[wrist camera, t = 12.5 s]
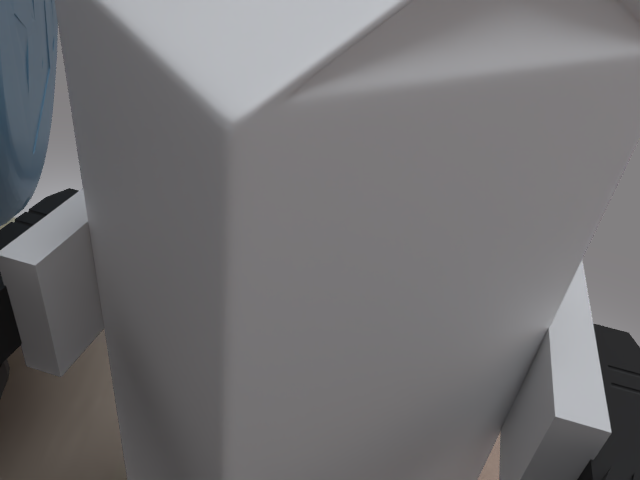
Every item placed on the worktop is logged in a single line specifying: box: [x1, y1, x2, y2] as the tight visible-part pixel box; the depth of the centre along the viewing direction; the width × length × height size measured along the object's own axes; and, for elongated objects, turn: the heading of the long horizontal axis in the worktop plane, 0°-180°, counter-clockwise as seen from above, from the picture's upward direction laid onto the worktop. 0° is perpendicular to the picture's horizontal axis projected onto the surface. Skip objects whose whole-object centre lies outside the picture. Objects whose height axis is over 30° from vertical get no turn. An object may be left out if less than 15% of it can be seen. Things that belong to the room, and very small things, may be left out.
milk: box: [55, 0, 640, 480], centre depth 12 cm, size 6×6×22 cm
